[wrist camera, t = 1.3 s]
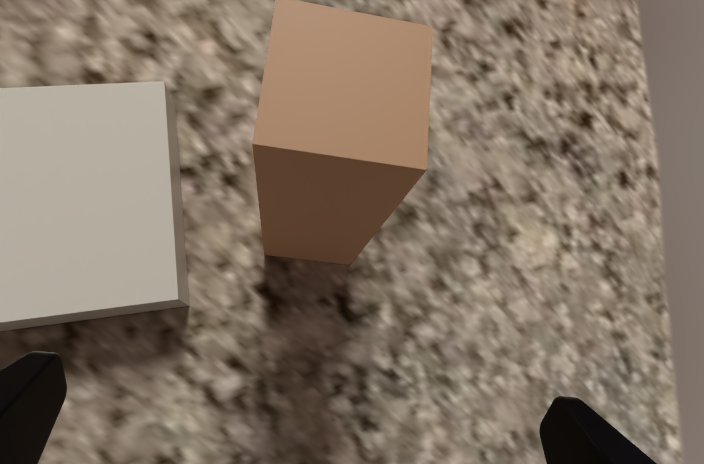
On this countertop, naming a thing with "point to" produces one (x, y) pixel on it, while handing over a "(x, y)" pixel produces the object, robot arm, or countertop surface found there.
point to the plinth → (89, 203)
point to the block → (338, 128)
